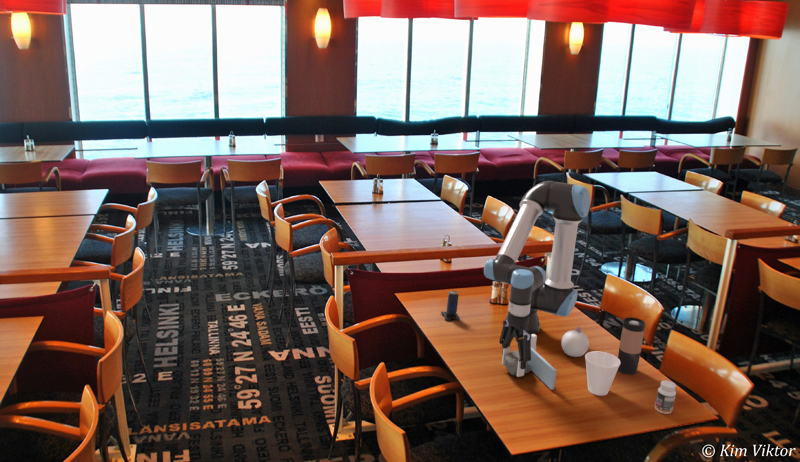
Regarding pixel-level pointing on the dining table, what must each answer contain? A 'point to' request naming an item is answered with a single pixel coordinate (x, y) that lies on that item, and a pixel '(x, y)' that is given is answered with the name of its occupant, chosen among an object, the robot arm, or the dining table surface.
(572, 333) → the ornament
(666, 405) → the pill bottle
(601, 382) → the cup
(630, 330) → the travel mug
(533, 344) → the tilted pink plank
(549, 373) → the door
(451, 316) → the blue column with base
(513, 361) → the stone
